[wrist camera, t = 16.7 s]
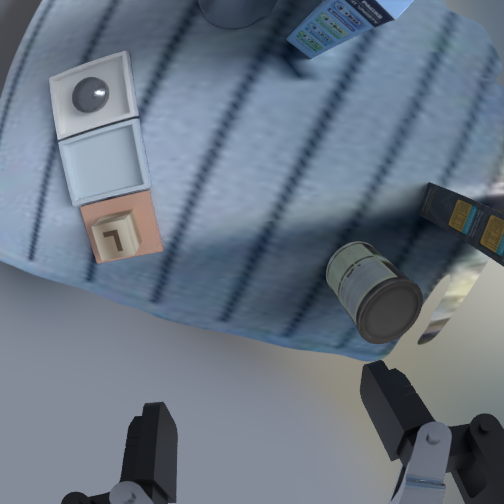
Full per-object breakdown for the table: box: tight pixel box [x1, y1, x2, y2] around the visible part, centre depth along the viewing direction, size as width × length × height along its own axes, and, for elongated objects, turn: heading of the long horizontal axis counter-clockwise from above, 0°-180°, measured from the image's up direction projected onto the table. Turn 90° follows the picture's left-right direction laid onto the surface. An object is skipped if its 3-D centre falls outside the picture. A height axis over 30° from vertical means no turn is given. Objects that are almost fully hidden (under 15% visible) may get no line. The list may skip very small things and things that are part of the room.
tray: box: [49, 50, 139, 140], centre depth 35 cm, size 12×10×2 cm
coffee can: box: [326, 241, 423, 344], centre depth 45 cm, size 10×10×14 cm
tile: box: [80, 189, 164, 263], centre depth 44 cm, size 11×9×1 cm
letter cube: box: [91, 209, 142, 261], centre depth 41 cm, size 5×5×5 cm
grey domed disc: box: [72, 77, 109, 113], centre depth 35 cm, size 5×5×2 cm
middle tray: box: [58, 119, 152, 206], centre depth 39 cm, size 12×10×2 cm
